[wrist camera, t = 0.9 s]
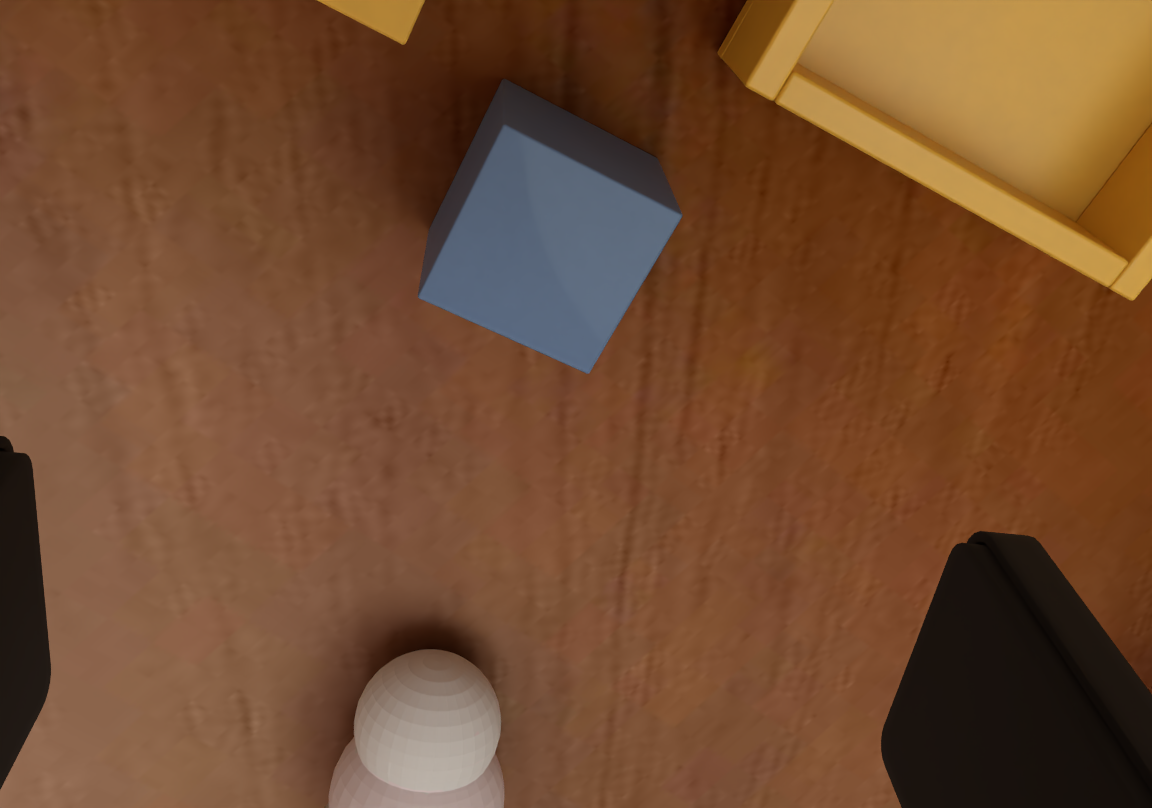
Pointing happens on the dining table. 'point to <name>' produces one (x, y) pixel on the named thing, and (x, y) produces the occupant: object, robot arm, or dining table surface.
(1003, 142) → the mustard bin
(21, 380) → the dining table surface
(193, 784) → the dining table surface
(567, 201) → the blue block
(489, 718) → the ice cream cone
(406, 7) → the mustard block
